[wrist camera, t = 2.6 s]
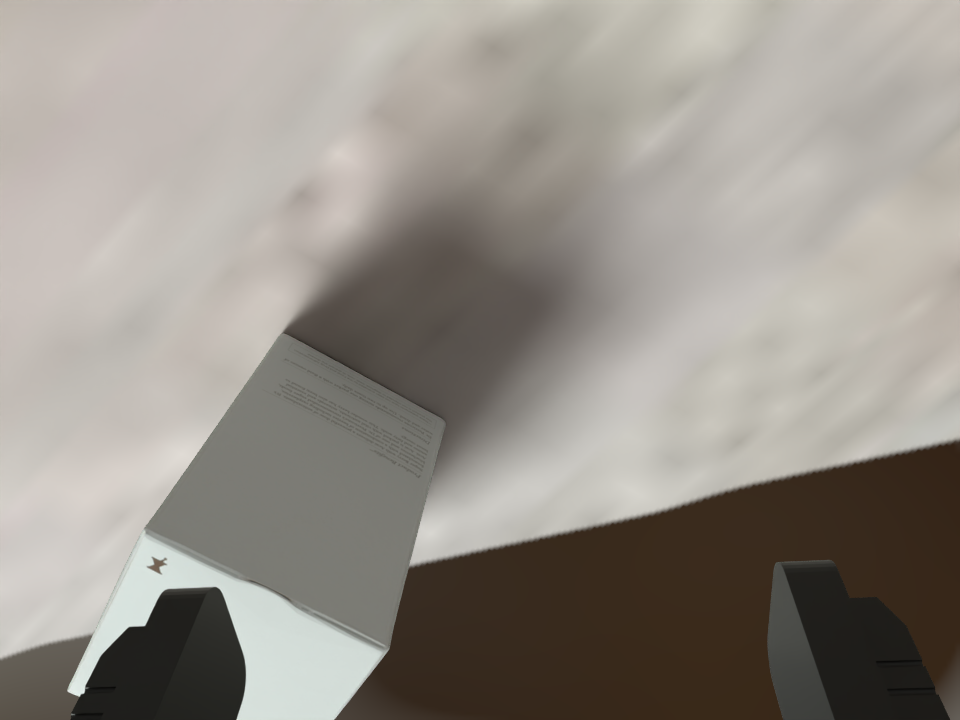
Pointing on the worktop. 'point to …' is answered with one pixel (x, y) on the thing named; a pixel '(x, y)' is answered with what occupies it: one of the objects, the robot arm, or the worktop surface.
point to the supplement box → (292, 531)
